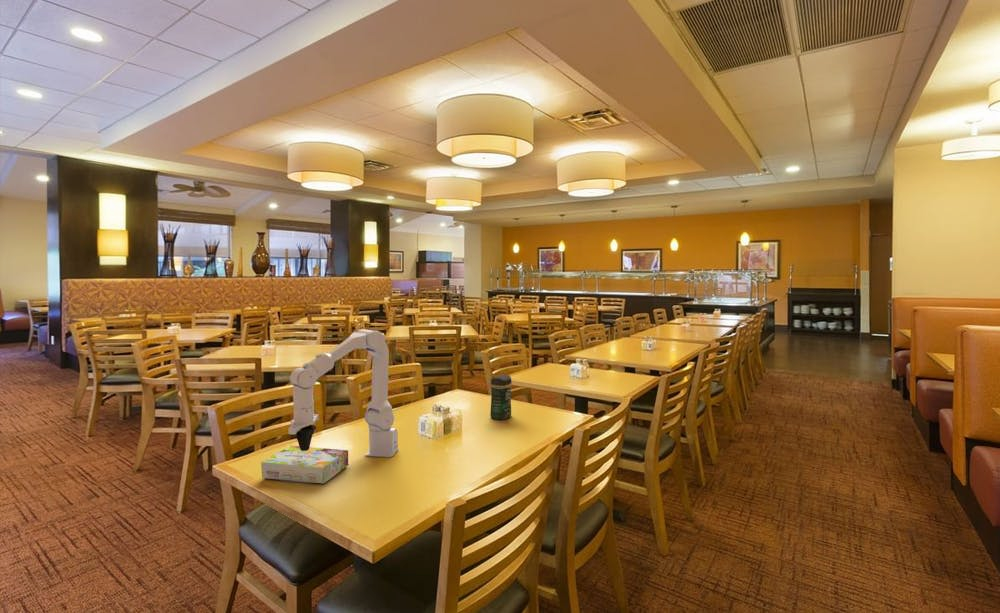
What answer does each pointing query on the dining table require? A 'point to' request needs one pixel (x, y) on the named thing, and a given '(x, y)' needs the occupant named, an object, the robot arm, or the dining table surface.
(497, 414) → the coffee jar
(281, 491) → the dining table surface
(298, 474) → the snack box
